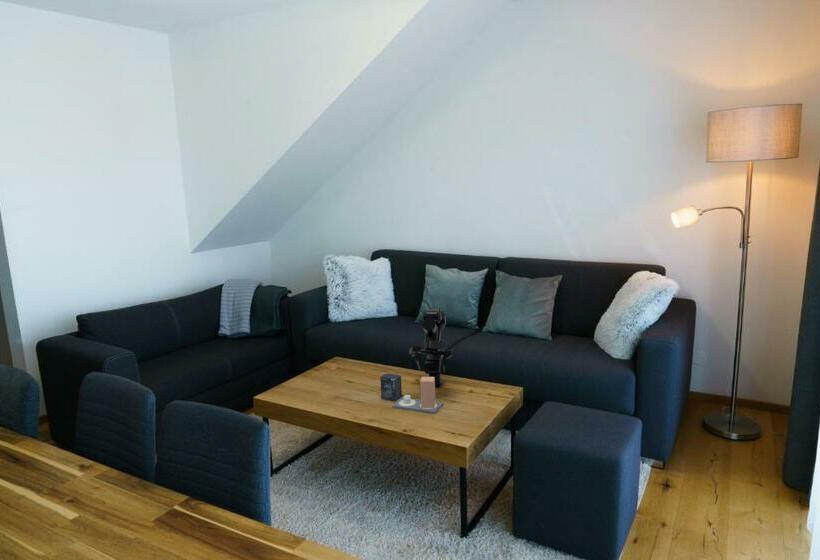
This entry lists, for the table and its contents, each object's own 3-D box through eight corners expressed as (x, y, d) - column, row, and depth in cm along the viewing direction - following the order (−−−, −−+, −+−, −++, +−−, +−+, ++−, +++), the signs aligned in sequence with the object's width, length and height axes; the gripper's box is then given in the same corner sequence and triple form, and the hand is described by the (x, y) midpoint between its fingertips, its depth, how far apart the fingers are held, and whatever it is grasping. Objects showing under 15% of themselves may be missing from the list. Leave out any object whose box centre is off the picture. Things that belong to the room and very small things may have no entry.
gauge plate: (401, 399, 261) (401, 390, 260) (443, 404, 253) (443, 396, 252) (392, 407, 252) (391, 399, 251) (435, 413, 244) (434, 405, 243)
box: (381, 398, 262) (379, 376, 260) (387, 394, 267) (386, 372, 265) (395, 401, 259) (394, 379, 257) (402, 397, 263) (401, 375, 261)
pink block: (422, 402, 253) (422, 376, 251) (435, 403, 253) (434, 376, 250) (421, 407, 248) (420, 381, 246) (434, 408, 247) (433, 381, 245)
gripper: (416, 330, 253) (414, 365, 248) (456, 334, 258) (456, 369, 252) (409, 336, 263) (408, 370, 258) (448, 340, 268) (447, 374, 262)
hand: (430, 371), depth 257 cm, fingers open, 9 cm apart
